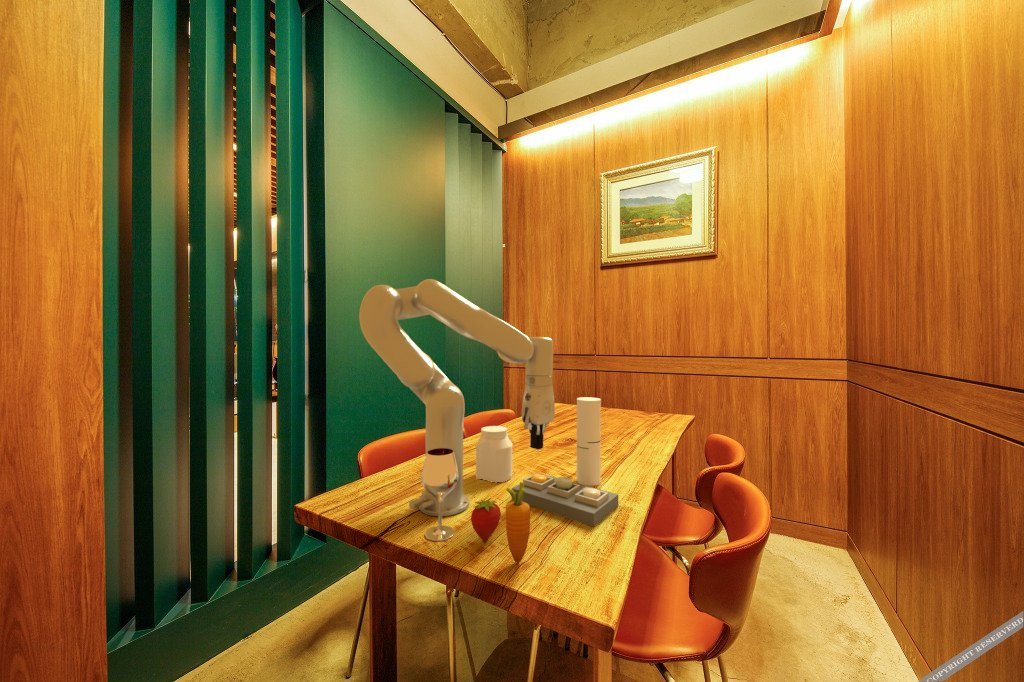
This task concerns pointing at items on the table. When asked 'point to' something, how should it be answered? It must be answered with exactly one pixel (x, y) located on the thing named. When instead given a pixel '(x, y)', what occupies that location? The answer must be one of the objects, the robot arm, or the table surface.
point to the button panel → (568, 500)
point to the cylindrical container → (589, 441)
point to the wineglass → (440, 485)
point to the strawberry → (485, 518)
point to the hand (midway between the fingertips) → (536, 447)
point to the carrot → (517, 524)
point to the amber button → (538, 478)
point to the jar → (494, 455)
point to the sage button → (563, 482)
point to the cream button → (591, 493)
